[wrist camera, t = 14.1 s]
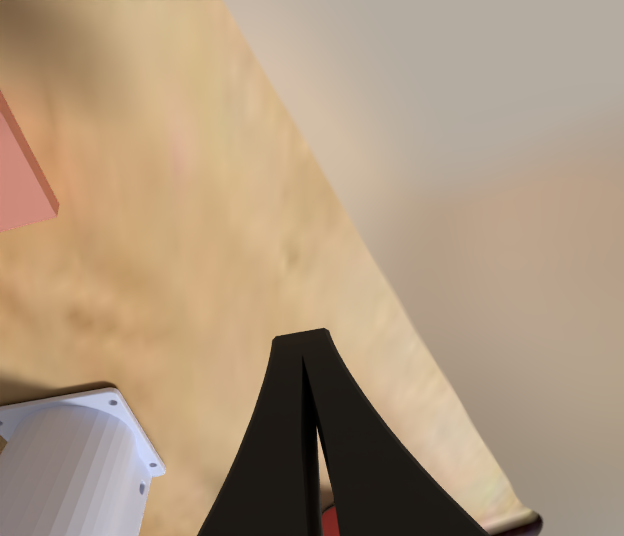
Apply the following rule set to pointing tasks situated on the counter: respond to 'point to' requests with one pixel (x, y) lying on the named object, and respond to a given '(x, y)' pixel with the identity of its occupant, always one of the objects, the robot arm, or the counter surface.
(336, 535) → the beer can
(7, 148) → the red domino
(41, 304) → the counter surface
